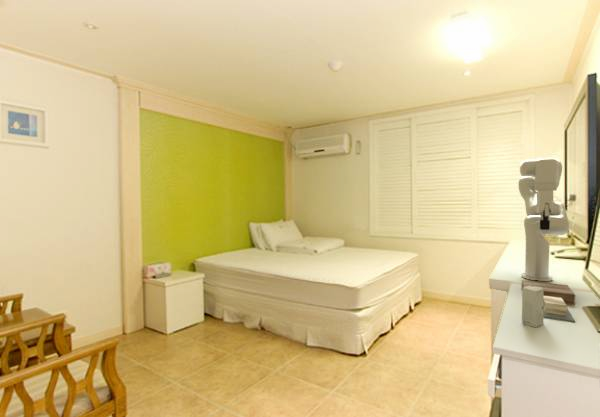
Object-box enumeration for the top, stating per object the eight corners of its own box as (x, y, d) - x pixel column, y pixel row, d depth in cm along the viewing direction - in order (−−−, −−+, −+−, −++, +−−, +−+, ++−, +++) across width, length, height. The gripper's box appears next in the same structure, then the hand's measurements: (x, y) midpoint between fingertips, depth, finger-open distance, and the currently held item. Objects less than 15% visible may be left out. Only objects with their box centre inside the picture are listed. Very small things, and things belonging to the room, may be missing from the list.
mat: (525, 298, 132) (526, 297, 132) (563, 303, 126) (563, 302, 126) (531, 315, 115) (531, 314, 115) (575, 322, 109) (575, 320, 109)
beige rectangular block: (545, 302, 116) (545, 312, 116) (566, 305, 113) (566, 315, 113) (541, 295, 124) (541, 304, 124) (561, 297, 121) (561, 307, 121)
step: (521, 289, 145) (521, 280, 145) (567, 294, 137) (567, 285, 137) (524, 298, 133) (524, 288, 133) (574, 304, 125) (575, 294, 125)
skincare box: (536, 328, 105) (537, 291, 104) (520, 323, 109) (521, 287, 108) (544, 323, 108) (545, 287, 108) (528, 319, 112) (529, 284, 111)
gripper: (533, 187, 148) (532, 227, 149) (537, 187, 135) (536, 231, 136) (553, 187, 144) (552, 227, 146) (560, 187, 132) (558, 232, 133)
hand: (544, 229), depth 141 cm, fingers closed
